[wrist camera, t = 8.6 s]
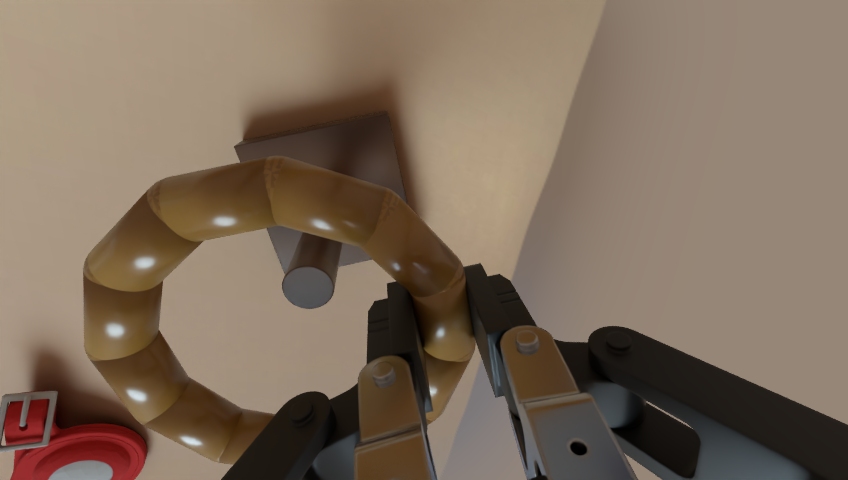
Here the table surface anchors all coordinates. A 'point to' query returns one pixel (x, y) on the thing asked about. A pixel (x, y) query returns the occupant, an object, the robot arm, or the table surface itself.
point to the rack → (340, 152)
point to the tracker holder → (65, 443)
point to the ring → (237, 213)
